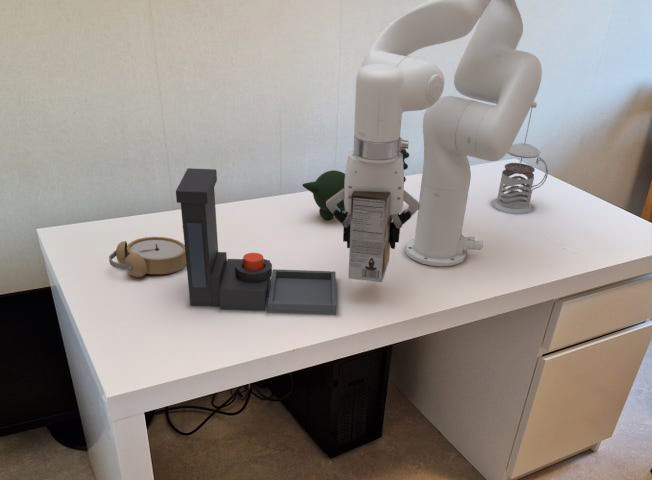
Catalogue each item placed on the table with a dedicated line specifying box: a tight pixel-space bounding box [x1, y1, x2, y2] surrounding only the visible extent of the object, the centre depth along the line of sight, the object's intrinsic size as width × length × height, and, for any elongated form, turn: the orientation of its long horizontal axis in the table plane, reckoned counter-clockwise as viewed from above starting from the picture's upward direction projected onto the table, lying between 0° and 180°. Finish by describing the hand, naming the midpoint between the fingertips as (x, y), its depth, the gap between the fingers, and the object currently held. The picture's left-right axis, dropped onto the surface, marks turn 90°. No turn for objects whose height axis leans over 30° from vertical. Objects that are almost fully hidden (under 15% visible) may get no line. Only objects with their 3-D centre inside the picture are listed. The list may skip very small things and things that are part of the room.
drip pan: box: [267, 268, 337, 316], centre depth 123 cm, size 12×13×2 cm
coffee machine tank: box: [175, 168, 228, 308], centre depth 117 cm, size 6×11×22 cm, turn 1°
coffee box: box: [348, 191, 393, 283], centre depth 117 cm, size 9×6×16 cm
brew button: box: [242, 252, 264, 271], centre depth 119 cm, size 4×4×2 cm
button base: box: [219, 258, 273, 312], centre depth 121 cm, size 9×12×6 cm
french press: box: [491, 101, 549, 215], centre depth 158 cm, size 10×12×25 cm
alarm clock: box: [108, 236, 187, 278], centre depth 129 cm, size 11×5×15 cm
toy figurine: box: [302, 149, 410, 222], centre depth 150 cm, size 9×19×25 cm
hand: (370, 244), depth 119 cm, fingers closed on coffee box, 7 cm apart
